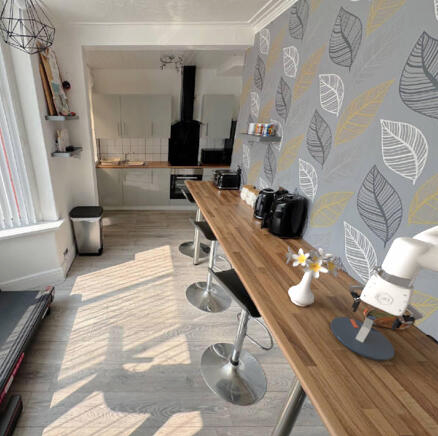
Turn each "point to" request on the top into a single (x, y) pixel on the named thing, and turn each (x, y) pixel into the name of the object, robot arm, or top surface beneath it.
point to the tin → (384, 318)
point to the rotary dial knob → (362, 338)
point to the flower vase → (310, 273)
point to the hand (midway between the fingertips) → (373, 318)
